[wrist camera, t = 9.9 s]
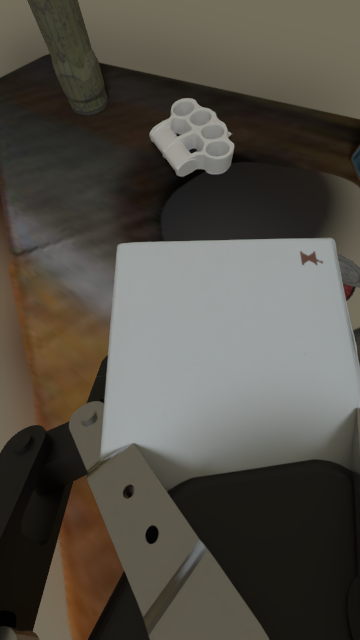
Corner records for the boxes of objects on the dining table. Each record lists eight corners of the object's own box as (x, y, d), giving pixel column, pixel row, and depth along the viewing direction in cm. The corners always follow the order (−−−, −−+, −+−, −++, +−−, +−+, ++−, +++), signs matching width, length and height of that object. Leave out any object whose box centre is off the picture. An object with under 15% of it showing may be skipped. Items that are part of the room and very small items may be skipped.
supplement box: (161, 322, 19) (113, 232, 7) (243, 322, 19) (345, 229, 7) (158, 408, 17) (85, 496, 5) (248, 410, 17) (404, 508, 5)
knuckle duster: (144, 135, 45) (201, 108, 47) (186, 192, 41) (247, 161, 43) (140, 116, 42) (202, 88, 44) (186, 176, 38) (252, 143, 40)
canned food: (271, 295, 40) (269, 256, 33) (313, 265, 40) (321, 219, 33) (323, 334, 33) (336, 295, 25) (375, 297, 33) (403, 247, 25)
